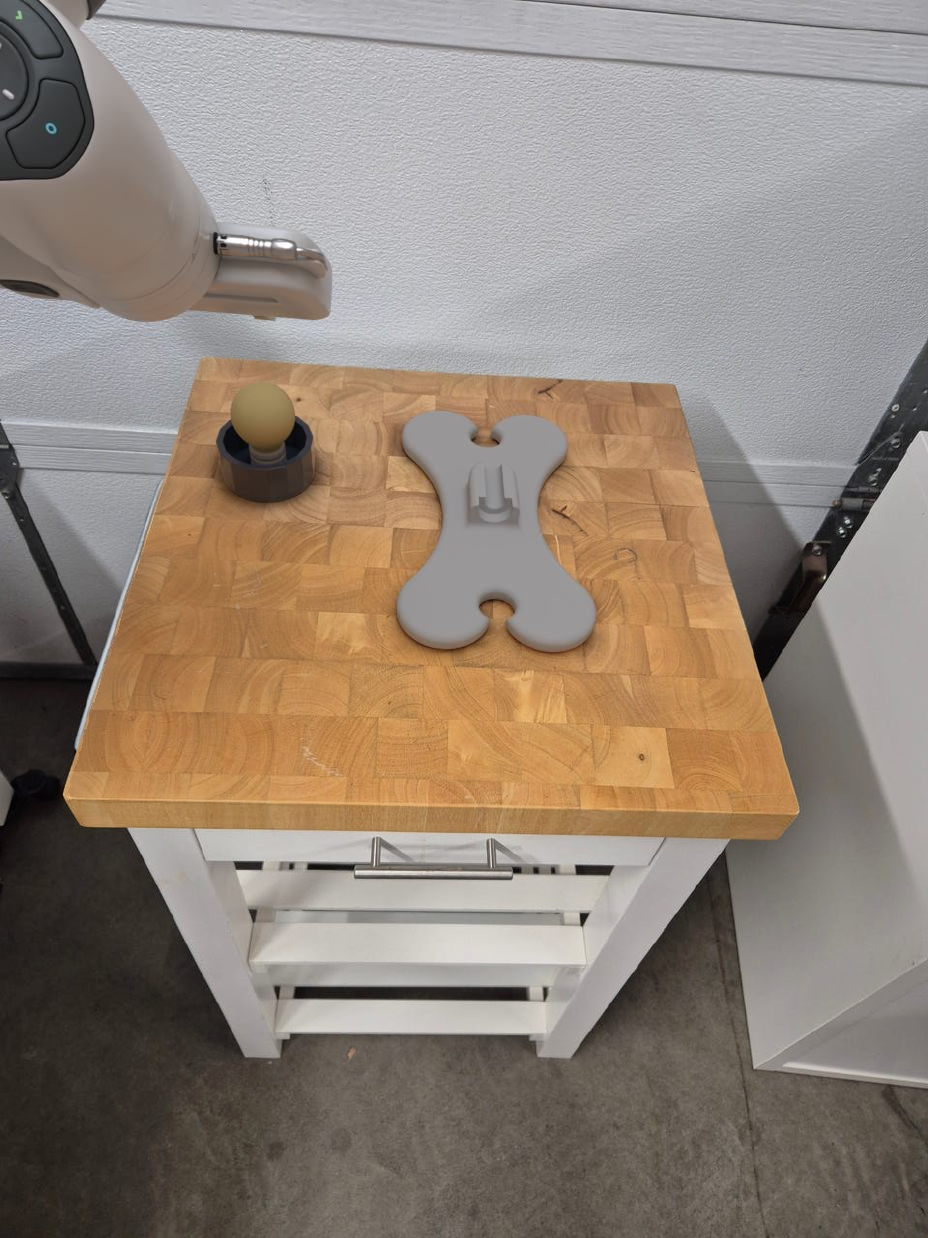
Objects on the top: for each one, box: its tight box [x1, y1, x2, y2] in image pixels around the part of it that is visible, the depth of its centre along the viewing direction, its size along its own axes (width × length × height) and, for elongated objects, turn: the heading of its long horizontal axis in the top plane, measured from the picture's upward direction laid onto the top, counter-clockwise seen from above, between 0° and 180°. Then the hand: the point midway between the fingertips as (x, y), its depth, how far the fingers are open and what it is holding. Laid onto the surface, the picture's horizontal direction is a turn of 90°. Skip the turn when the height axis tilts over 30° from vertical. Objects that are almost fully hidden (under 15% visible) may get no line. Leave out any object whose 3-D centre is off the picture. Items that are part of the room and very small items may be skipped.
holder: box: [395, 410, 597, 653], centre depth 84 cm, size 19×34×5 cm, turn 2°
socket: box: [215, 415, 316, 503], centre depth 87 cm, size 10×10×4 cm
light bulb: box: [230, 381, 296, 466], centre depth 84 cm, size 6×6×10 cm
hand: (200, 303), depth 59 cm, fingers open, 8 cm apart
